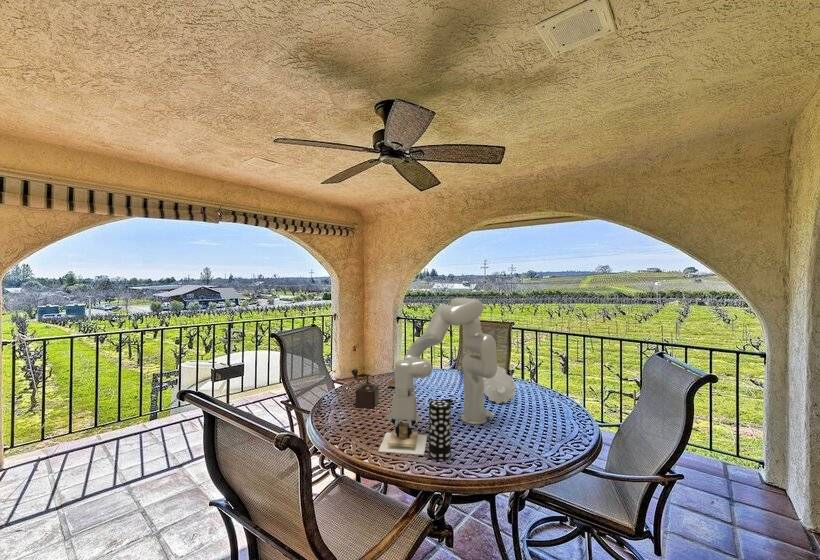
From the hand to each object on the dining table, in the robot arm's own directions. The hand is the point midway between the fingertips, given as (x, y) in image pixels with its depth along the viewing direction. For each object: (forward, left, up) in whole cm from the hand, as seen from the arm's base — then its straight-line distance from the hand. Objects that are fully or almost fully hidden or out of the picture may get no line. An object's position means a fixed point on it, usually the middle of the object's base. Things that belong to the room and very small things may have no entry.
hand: (403, 435), depth 139 cm
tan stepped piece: (+12, -71, -4) cm, 72 cm away
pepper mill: (+28, -39, -4) cm, 48 cm away
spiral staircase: (-44, -59, -4) cm, 74 cm away
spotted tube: (-15, +7, -4) cm, 17 cm away
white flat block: (0, 0, -4) cm, 4 cm away
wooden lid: (0, 0, -2) cm, 2 cm away
